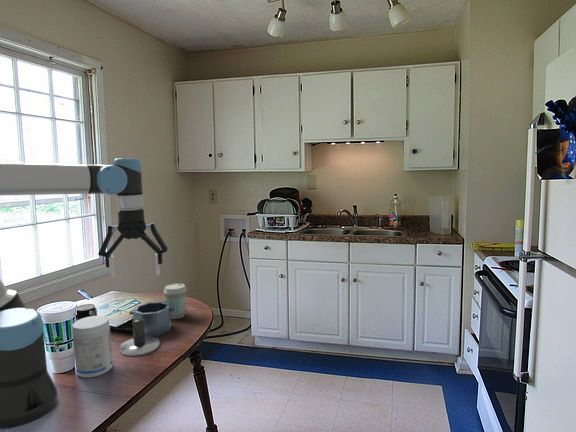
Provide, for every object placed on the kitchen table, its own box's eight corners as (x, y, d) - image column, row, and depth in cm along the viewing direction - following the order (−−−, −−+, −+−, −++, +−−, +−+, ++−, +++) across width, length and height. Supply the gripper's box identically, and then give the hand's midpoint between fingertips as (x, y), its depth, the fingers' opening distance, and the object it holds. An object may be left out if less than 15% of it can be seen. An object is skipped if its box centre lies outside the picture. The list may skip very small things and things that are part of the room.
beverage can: (75, 340, 135) (72, 306, 133) (96, 335, 139) (93, 302, 137) (79, 347, 130) (76, 312, 128) (101, 342, 134) (98, 307, 132)
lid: (156, 354, 125) (154, 326, 123) (115, 358, 123) (113, 329, 121) (161, 338, 136) (160, 312, 135) (124, 341, 134) (122, 314, 133)
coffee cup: (181, 321, 150) (179, 290, 149) (160, 319, 152) (158, 289, 151) (191, 313, 159) (190, 283, 157) (172, 311, 161) (170, 282, 159)
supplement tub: (91, 361, 121) (87, 314, 119) (119, 363, 119) (116, 315, 117) (68, 378, 111) (63, 327, 109) (99, 380, 110) (95, 329, 108)
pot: (173, 334, 139) (171, 312, 138) (127, 338, 136) (125, 315, 135) (176, 321, 151) (175, 300, 150) (134, 324, 148) (133, 303, 147)
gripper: (173, 205, 129) (177, 270, 132) (91, 209, 125) (96, 275, 128) (171, 208, 122) (175, 276, 125) (83, 211, 118) (89, 281, 121)
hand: (135, 275), depth 127 cm, fingers open, 13 cm apart
